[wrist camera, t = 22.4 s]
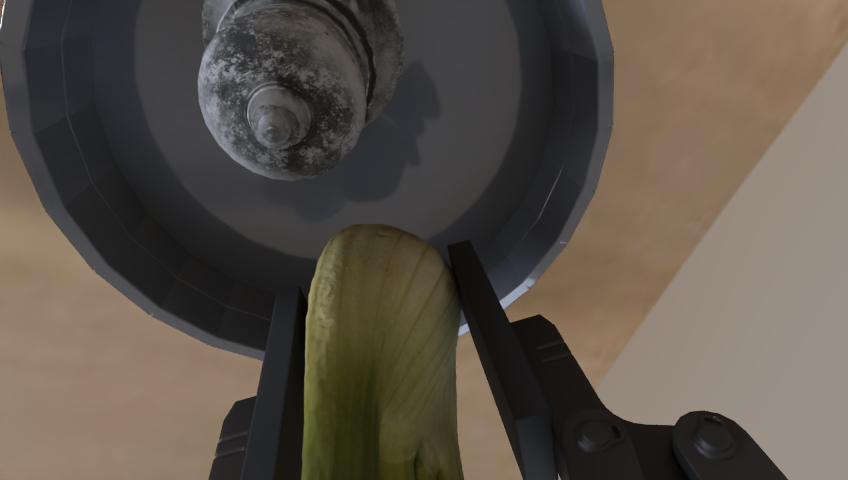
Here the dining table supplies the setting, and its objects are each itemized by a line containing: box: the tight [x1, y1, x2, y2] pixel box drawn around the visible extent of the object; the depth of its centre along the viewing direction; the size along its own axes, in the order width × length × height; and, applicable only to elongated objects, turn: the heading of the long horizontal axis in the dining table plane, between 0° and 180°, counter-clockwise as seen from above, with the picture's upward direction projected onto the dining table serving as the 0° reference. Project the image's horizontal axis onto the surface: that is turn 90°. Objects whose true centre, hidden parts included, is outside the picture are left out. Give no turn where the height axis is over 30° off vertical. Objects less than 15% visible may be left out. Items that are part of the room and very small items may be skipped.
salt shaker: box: [198, 0, 405, 181], centre depth 11 cm, size 6×6×12 cm
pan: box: [0, 0, 614, 361], centre depth 17 cm, size 19×19×4 cm
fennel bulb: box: [301, 224, 464, 480], centre depth 11 cm, size 6×5×12 cm
